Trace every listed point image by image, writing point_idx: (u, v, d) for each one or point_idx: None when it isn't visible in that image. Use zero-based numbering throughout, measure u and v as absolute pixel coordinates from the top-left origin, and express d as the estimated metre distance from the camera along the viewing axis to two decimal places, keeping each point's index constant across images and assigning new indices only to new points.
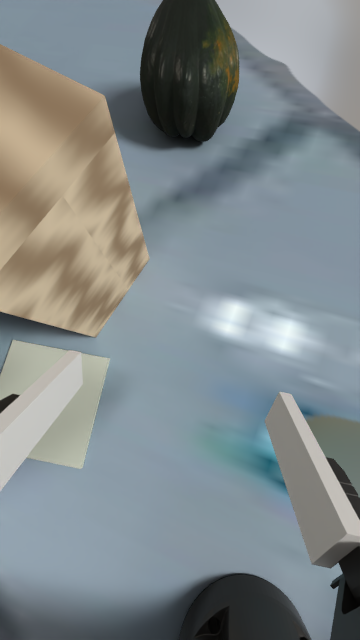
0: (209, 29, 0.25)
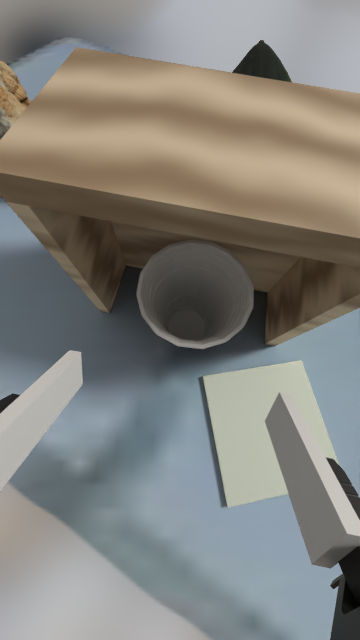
0: (285, 78, 0.31)
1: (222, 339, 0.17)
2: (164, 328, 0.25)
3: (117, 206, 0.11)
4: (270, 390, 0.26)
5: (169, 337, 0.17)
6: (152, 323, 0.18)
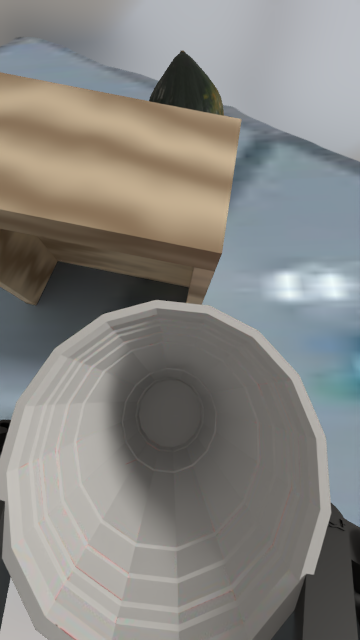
0: (206, 87, 0.34)
1: None
2: (121, 446, 0.13)
3: None
4: None
5: None
6: (30, 582, 0.06)
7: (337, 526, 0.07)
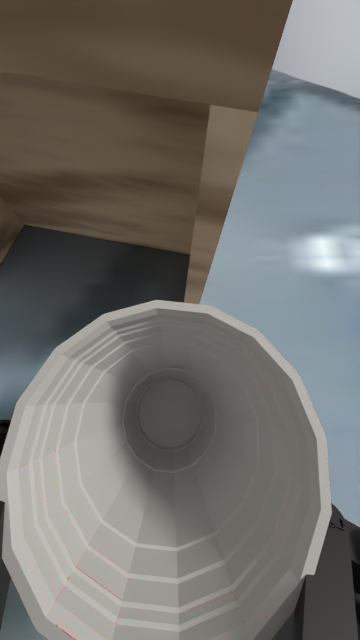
0: None
1: None
2: (121, 446, 0.13)
3: None
4: None
5: None
6: (30, 582, 0.06)
7: (337, 526, 0.07)
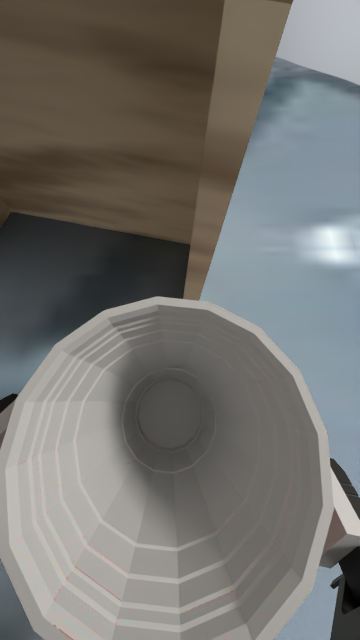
0: None
1: None
2: (120, 446, 0.13)
3: None
4: None
5: None
6: (28, 581, 0.06)
7: None
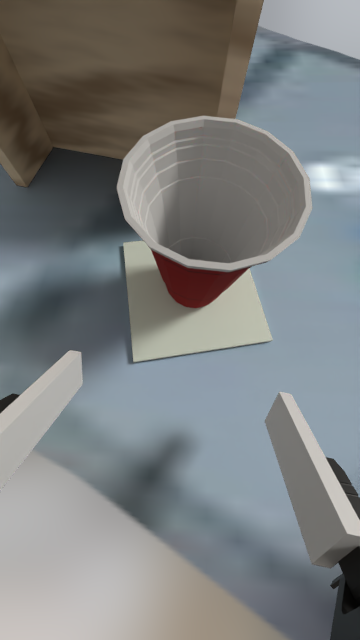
0: None
1: (264, 255, 0.10)
2: (163, 276, 0.17)
3: None
4: None
5: (172, 251, 0.10)
6: (143, 230, 0.10)
7: None
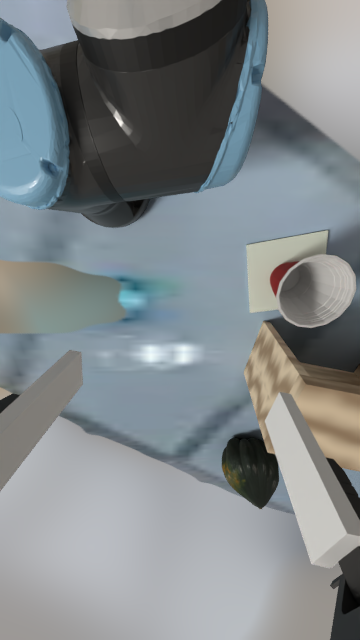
0: (243, 486, 0.50)
1: (305, 260, 0.28)
2: (314, 273, 0.35)
3: None
4: None
5: (339, 261, 0.27)
6: (349, 270, 0.28)
7: None
